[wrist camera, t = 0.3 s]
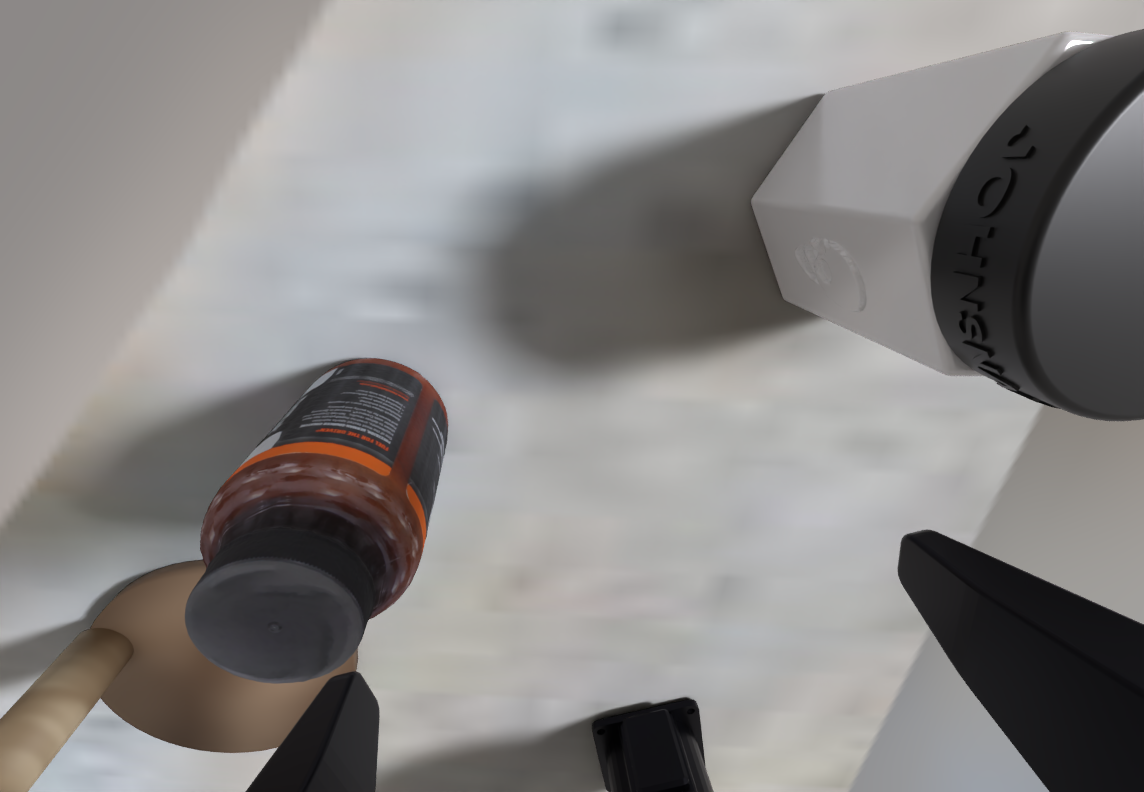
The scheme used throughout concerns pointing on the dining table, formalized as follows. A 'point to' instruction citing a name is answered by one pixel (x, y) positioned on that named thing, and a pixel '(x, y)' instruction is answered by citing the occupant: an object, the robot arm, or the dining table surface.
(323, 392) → the supplement bottle
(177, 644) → the flange plate
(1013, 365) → the jar
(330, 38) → the dining table surface
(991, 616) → the robot arm
